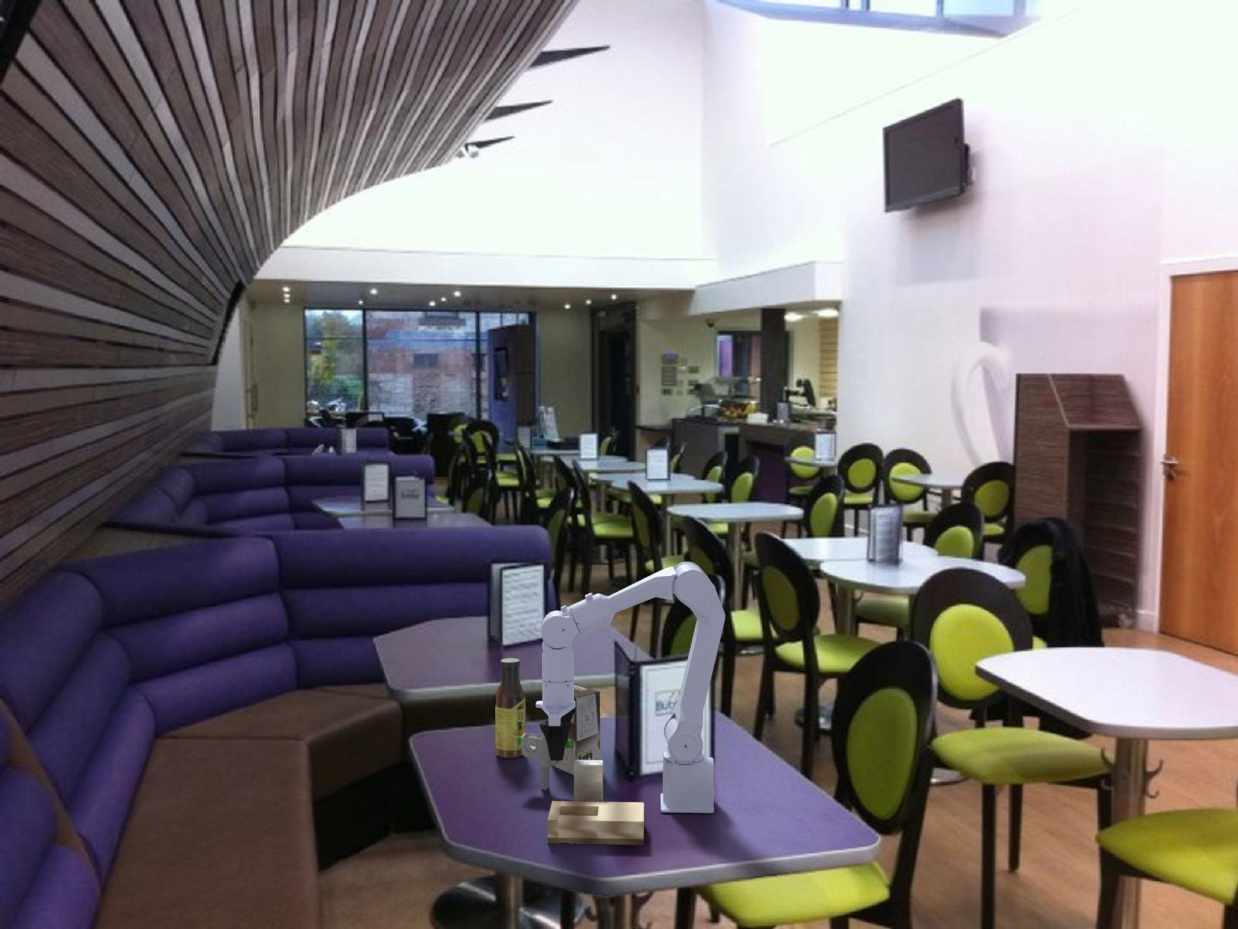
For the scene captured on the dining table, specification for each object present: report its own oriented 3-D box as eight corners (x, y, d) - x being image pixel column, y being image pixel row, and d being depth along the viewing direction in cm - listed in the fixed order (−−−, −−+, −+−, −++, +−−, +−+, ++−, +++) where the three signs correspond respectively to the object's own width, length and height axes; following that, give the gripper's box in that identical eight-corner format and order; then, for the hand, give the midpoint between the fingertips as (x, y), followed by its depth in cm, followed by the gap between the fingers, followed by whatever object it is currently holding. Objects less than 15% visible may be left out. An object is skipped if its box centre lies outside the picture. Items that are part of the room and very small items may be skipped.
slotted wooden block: (643, 825, 180) (643, 802, 179) (643, 845, 172) (643, 821, 171) (552, 823, 180) (552, 801, 180) (547, 843, 172) (547, 820, 172)
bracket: (602, 809, 187) (602, 760, 186) (602, 814, 184) (602, 765, 183) (575, 808, 187) (575, 759, 186) (574, 814, 184) (574, 764, 184)
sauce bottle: (523, 760, 211) (523, 664, 210) (493, 760, 211) (493, 664, 210) (527, 749, 218) (526, 656, 216) (497, 749, 218) (497, 656, 216)
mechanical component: (568, 793, 194) (568, 741, 193) (516, 789, 196) (516, 737, 195) (572, 787, 197) (572, 736, 196) (521, 783, 199) (521, 732, 198)
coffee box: (602, 770, 206) (602, 691, 204) (576, 778, 201) (576, 697, 200) (573, 758, 213) (573, 681, 211) (548, 765, 208) (548, 687, 207)
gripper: (540, 668, 193) (541, 739, 194) (530, 690, 179) (531, 766, 180) (578, 668, 193) (578, 739, 194) (571, 690, 178) (572, 767, 179)
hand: (558, 752), depth 187 cm, fingers open, 7 cm apart
